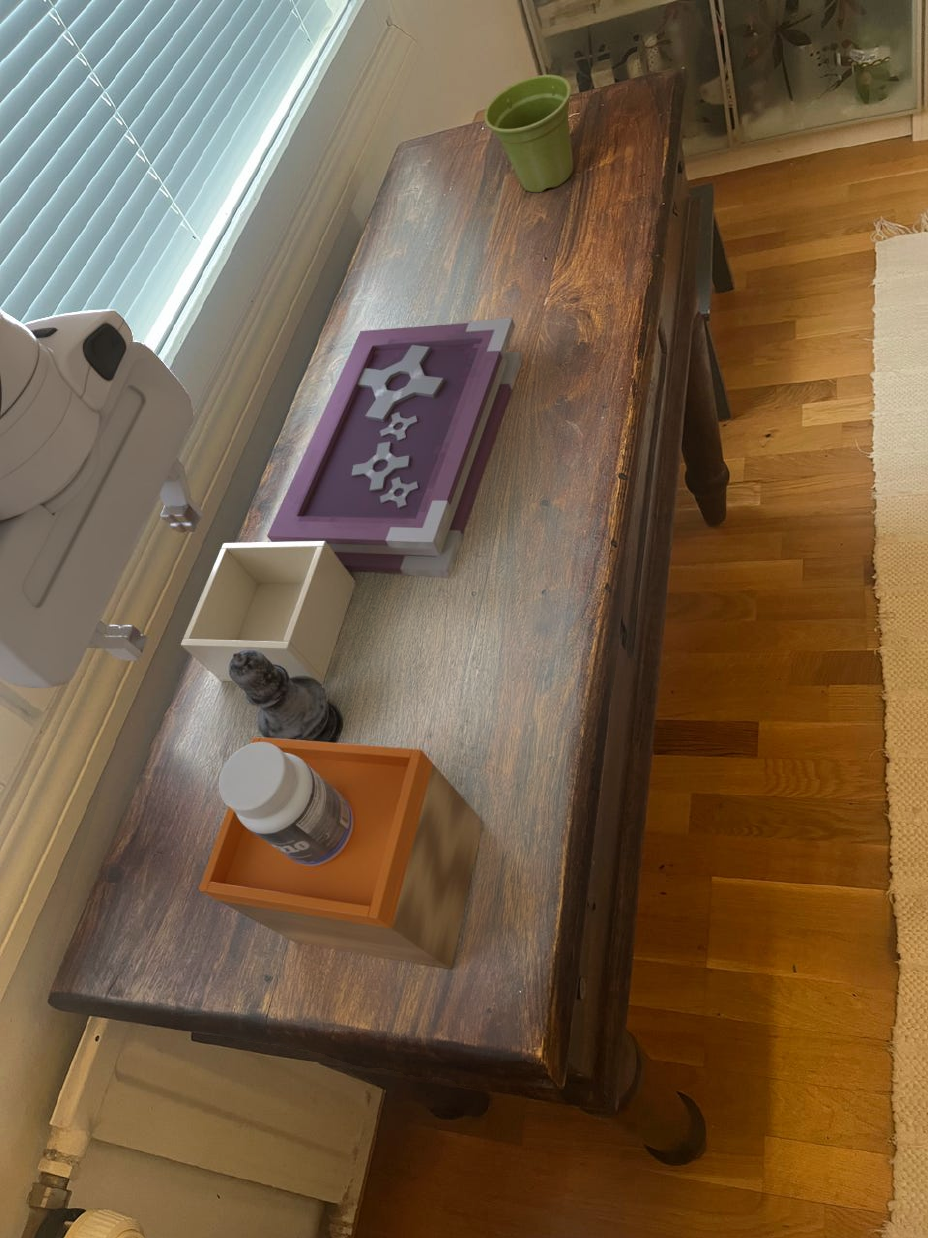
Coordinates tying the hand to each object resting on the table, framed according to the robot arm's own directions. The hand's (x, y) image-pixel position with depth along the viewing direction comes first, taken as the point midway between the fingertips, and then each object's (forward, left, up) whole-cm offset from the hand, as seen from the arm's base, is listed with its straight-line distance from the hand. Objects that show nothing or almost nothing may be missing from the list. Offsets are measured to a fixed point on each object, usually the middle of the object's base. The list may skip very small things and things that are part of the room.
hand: (164, 584), depth 58 cm
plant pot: (+69, -7, -21) cm, 72 cm away
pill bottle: (-11, -10, -10) cm, 18 cm away
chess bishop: (0, 0, -21) cm, 21 cm away
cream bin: (+9, +5, -21) cm, 23 cm away
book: (+28, -1, -21) cm, 34 cm away
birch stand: (-11, -10, -21) cm, 25 cm away
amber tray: (-11, -10, -11) cm, 18 cm away
